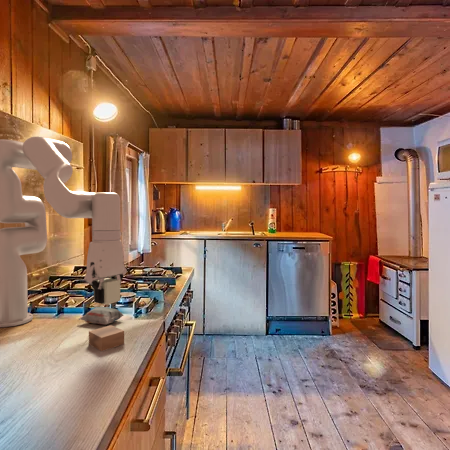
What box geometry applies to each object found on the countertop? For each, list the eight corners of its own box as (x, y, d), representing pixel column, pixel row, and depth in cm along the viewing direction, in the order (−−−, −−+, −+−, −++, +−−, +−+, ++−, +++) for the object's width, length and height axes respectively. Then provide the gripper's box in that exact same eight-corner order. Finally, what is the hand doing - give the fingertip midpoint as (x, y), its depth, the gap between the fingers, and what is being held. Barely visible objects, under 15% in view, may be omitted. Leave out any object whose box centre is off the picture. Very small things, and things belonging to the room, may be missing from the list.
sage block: (93, 302, 97) (93, 281, 96) (107, 298, 101) (107, 278, 101) (106, 304, 94) (106, 283, 94) (120, 300, 99) (120, 279, 98)
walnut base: (88, 345, 98) (88, 331, 98) (111, 338, 103) (111, 325, 103) (101, 352, 93) (101, 337, 93) (124, 344, 99) (124, 330, 98)
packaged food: (107, 329, 110) (107, 314, 110) (78, 324, 114) (78, 310, 114) (124, 321, 118) (124, 307, 118) (95, 317, 122) (96, 303, 122)
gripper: (118, 234, 106) (119, 292, 107) (71, 238, 91) (72, 306, 92) (137, 235, 103) (137, 295, 103) (91, 239, 87) (92, 310, 88)
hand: (107, 299), depth 98 cm, fingers closed on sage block, 5 cm apart
